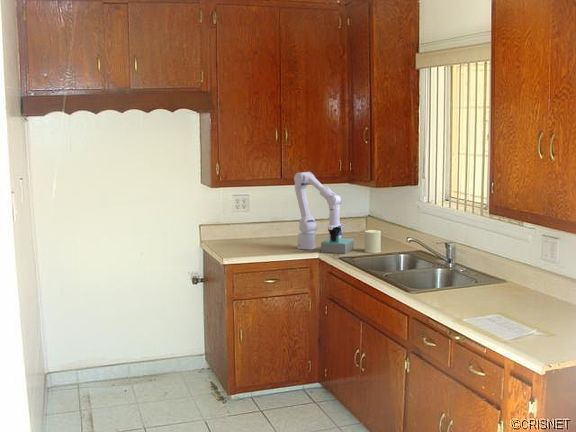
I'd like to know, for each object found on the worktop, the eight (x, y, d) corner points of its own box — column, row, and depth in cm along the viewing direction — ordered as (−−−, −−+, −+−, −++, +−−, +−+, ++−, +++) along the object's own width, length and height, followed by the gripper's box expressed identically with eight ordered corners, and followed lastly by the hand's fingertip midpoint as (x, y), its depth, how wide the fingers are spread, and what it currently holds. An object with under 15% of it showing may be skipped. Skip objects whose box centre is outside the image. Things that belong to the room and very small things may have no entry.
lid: (321, 245, 387) (321, 236, 387) (325, 242, 395) (325, 233, 394) (345, 246, 382) (345, 237, 381) (349, 244, 389) (349, 235, 389)
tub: (321, 252, 388) (321, 242, 387) (330, 247, 403) (330, 237, 402) (345, 254, 383) (345, 243, 382) (353, 249, 397) (353, 239, 396)
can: (379, 253, 384) (379, 232, 382) (362, 252, 387) (362, 231, 385) (382, 250, 393) (382, 229, 391) (366, 249, 396) (366, 228, 394)
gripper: (337, 218, 377) (337, 243, 378) (345, 215, 390) (345, 239, 392) (324, 218, 379) (324, 242, 381) (333, 214, 393) (333, 238, 394)
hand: (334, 240), depth 387 cm, fingers closed on lid
